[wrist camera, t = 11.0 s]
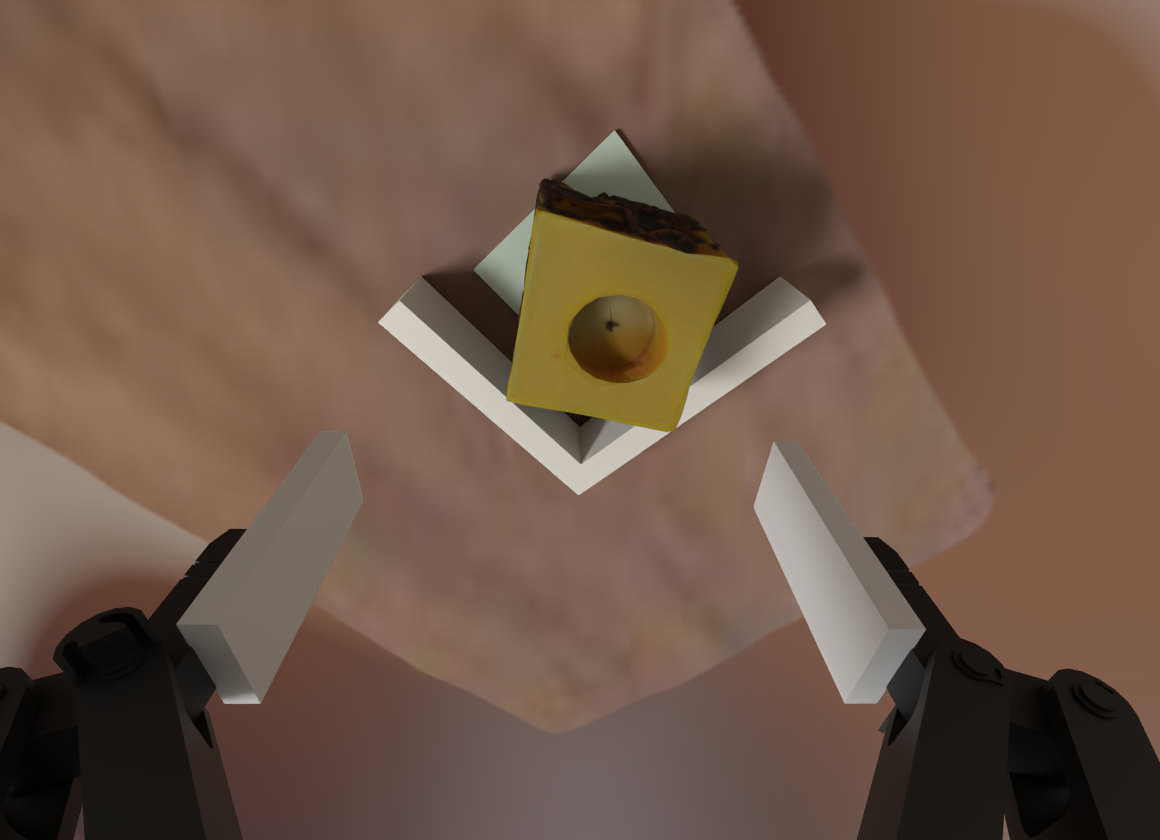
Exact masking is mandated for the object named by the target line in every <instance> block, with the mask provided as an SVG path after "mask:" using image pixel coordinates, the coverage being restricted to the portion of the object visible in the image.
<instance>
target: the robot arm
mask: <svg viewBox="0 0 1160 840" xmlns="http://www.w3.org/2000/svg"><path fill="white" fill-rule="evenodd" d="M363 501H364V500H363V496H362V492H361V488H360V484H359V480H358V476H357V471H356V467H355V463H354V459H353V455H352V451H351V447H350V443H349V439H348V435H347V431H320V432H319V433H318V435H317V436H316V437H315V439H314V440H313V441H312V443H311V444H310V446H309V447H308V448H307V450H306V451H305V452H304V454H303V455H302V456H301V458H300V459H299V460H298V462H297V463H296V464H295V466H294V467H293V468H292V470H291V471H290V472H289V474H288V475H287V476H286V478H285V479H284V480H283V482H282V483H281V484H280V486H279V487H278V488H277V490H276V491H275V492H274V494H273V495H272V496H271V498H270V499H269V500H268V502H267V503H266V505H265V506H264V507H263V509H262V510H261V511H260V513H259V514H258V515H257V517H256V518H255V519H254V521H253V522H252V523H251V525H250V526H249V527H248V529H229V530H228V531H226V532H225V533H224V534H222V535H221V536H219V537H218V538H217V539H215V540H214V541H213V542H211V543H210V544H209V545H208V546H207V547H206V549H205V550H204V551H203V553H202V554H201V555H200V556H199V557H198V559H197V560H196V561H195V565H192V566H191V567H190V568H189V570H188V571H187V572H186V573H185V575H184V578H183V579H181V580H180V581H179V582H178V583H177V585H176V586H175V587H174V588H173V590H172V591H171V592H170V593H169V594H168V596H167V597H166V598H165V600H164V601H163V602H162V603H161V604H160V606H159V607H158V608H157V609H156V611H155V612H154V613H153V614H152V616H151V617H150V618H149V619H148V620H147V618H146V617H145V615H144V614H143V612H142V611H141V610H138V609H135V608H132V607H125V608H115V609H112V610H109V611H106V612H102V613H100V614H97V615H95V616H93V617H91V618H90V619H88V620H86V621H84V622H82V623H81V624H79V625H78V626H77V627H75V628H74V629H73V630H72V631H70V632H69V633H68V634H67V635H66V636H65V637H64V638H63V639H62V641H61V642H60V643H59V644H58V646H57V647H56V649H55V653H54V656H53V660H54V661H55V662H56V664H57V665H58V666H59V667H60V668H61V669H62V671H63V672H62V673H58V674H55V675H51V676H47V677H43V678H39V679H35V680H32V679H31V678H30V677H29V676H28V675H27V674H26V673H25V672H24V671H23V670H22V669H21V668H14V667H5V668H0V840H73V839H74V835H75V831H76V827H77V823H78V818H79V814H80V811H81V807H82V803H83V816H84V833H85V840H243V838H242V834H241V830H240V827H239V823H238V819H237V815H236V812H235V808H234V804H233V801H232V797H231V793H230V789H229V785H228V782H227V778H226V774H225V771H224V767H223V763H222V759H221V755H220V752H219V748H218V744H217V741H216V737H215V733H214V729H213V725H212V722H211V718H210V714H209V712H208V711H207V709H206V708H205V706H206V704H207V702H208V701H209V699H210V697H211V696H212V694H213V692H214V690H215V689H216V690H217V692H218V693H219V695H220V697H221V698H222V700H223V702H224V703H225V704H260V703H261V702H262V700H263V698H264V696H265V694H266V692H267V690H268V688H269V686H270V684H271V682H272V680H273V678H274V676H275V674H276V672H277V670H278V668H279V666H280V664H281V662H282V660H283V658H284V656H285V654H286V652H287V651H288V648H289V646H290V645H291V643H292V641H293V639H294V637H295V635H296V633H297V631H298V629H299V627H300V625H301V623H302V620H303V619H304V617H305V615H306V613H307V611H308V609H309V607H310V605H311V603H312V601H313V599H314V597H315V595H316V593H317V591H318V589H319V587H320V585H321V584H322V582H323V580H324V578H325V576H326V574H327V572H328V570H329V568H330V566H331V564H332V562H333V560H334V558H335V556H336V554H337V552H338V550H339V548H340V546H341V544H342V542H343V540H344V538H345V536H346V534H347V532H348V530H349V528H350V526H351V524H352V522H353V520H354V518H355V516H356V514H357V512H358V511H359V509H360V507H361V505H362V503H363ZM754 509H755V512H756V514H757V516H758V518H759V520H760V522H761V524H762V527H763V529H764V531H765V533H766V535H767V537H768V540H769V542H770V544H771V546H772V548H773V550H774V552H775V555H776V557H777V559H778V561H779V563H780V565H781V568H782V570H783V572H784V574H785V576H786V578H787V580H788V583H789V585H790V587H791V589H792V591H793V593H794V596H795V598H796V600H797V602H798V604H799V606H800V608H801V611H802V613H803V615H804V617H805V619H806V621H807V623H808V625H809V628H810V630H811V632H812V634H813V636H814V639H815V641H816V643H817V645H818V647H819V649H820V651H821V653H822V656H823V658H824V660H825V662H826V664H827V667H828V669H829V671H830V673H831V675H832V677H833V679H834V682H835V684H836V686H837V688H838V690H839V692H840V694H841V697H842V699H843V701H844V703H877V702H878V701H879V699H880V698H881V696H882V695H883V693H884V692H885V690H886V689H888V691H889V693H890V695H891V697H892V698H893V700H894V702H895V704H896V705H895V707H894V708H893V710H892V711H891V713H890V714H889V715H888V717H887V718H886V720H885V721H884V722H883V724H882V725H881V727H880V729H879V731H880V732H882V733H884V732H885V731H886V732H885V736H884V739H883V743H882V747H881V751H880V754H879V758H878V762H877V766H876V770H875V773H874V777H873V781H872V785H871V789H870V792H869V796H868V799H867V803H866V807H865V811H864V814H863V818H862V822H861V826H860V829H859V834H858V837H857V840H1002V839H1003V838H1002V837H1003V823H1004V814H1005V819H1006V823H1007V828H1008V832H1009V837H1010V840H1160V762H1159V760H1158V758H1157V756H1156V754H1155V751H1154V749H1153V747H1152V745H1151V743H1150V741H1149V739H1148V737H1147V734H1146V732H1145V731H1144V728H1143V726H1142V724H1141V722H1140V720H1139V718H1138V716H1137V714H1136V713H1135V711H1134V710H1133V708H1132V707H1131V705H1130V704H1129V703H1128V702H1127V701H1126V700H1125V699H1124V698H1123V697H1122V696H1121V695H1120V694H1119V693H1118V692H1117V691H1116V690H1115V689H1113V688H1112V687H1110V686H1109V685H1107V684H1106V683H1104V682H1103V681H1101V680H1099V679H1098V678H1096V677H1093V676H1091V675H1089V674H1087V673H1085V672H1082V671H1077V670H1073V669H1062V670H1058V671H1057V672H1056V673H1055V674H1054V675H1053V676H1052V677H1051V678H1050V679H1049V680H1048V681H1047V680H1044V679H1040V678H1036V677H1033V676H1030V675H1026V674H1022V673H1019V672H1015V671H1012V670H1008V669H1006V668H1004V667H1003V665H1002V664H1001V663H1000V662H999V661H998V660H997V659H996V658H995V657H994V656H993V655H992V654H991V653H990V652H988V651H986V650H985V649H983V648H982V647H980V646H979V645H976V644H975V643H972V642H969V641H967V640H964V639H961V638H960V637H959V636H958V635H957V633H956V632H955V631H954V629H953V628H952V627H951V625H950V624H949V623H948V621H947V620H946V619H945V617H944V616H943V614H942V613H941V612H940V610H939V609H938V608H937V606H936V605H935V604H934V602H933V601H932V600H931V598H930V597H929V595H928V594H927V593H926V591H925V590H924V589H923V587H922V586H919V582H918V580H917V579H916V578H915V576H914V575H913V574H912V572H909V568H908V567H907V565H906V564H905V563H904V561H903V560H902V559H901V557H900V556H899V555H898V553H897V552H896V551H895V550H893V549H892V548H891V547H890V546H888V545H887V544H886V543H885V542H883V541H882V540H881V539H880V538H879V537H863V536H862V535H861V534H860V532H859V531H858V529H857V528H856V526H855V525H854V523H853V522H852V520H851V519H850V517H849V516H848V515H847V513H846V512H845V510H844V509H843V507H842V506H841V504H840V503H839V501H838V500H837V498H836V497H835V496H834V494H833V493H832V491H831V490H830V488H829V487H828V485H827V484H826V482H825V481H824V479H823V478H822V477H821V475H820V474H819V472H818V471H817V469H816V468H815V466H814V465H813V463H812V462H811V460H810V459H809V458H808V456H807V455H806V453H805V452H804V450H803V449H802V447H801V446H800V444H799V443H798V442H786V441H774V442H773V445H772V449H771V452H770V455H769V458H768V462H767V465H766V468H765V471H764V475H763V478H762V481H761V485H760V488H759V491H758V494H757V498H756V501H755V504H754Z"/></svg>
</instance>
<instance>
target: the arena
mask: <svg viewBox="0 0 1160 840" xmlns="http://www.w3.org/2000/svg"><path fill="white" fill-rule="evenodd" d="M378 323H379V324H381V325H382V326H383V327H384V328H385V329H386V330H388V331H389V332H390V333H391V334H392V335H393V336H394V337H396V338H397V339H398V340H399V341H400V342H401V343H403V344H404V345H405V346H406V347H407V348H408V349H410V350H411V351H412V352H413V353H414V354H415V355H417V356H418V357H419V358H420V359H421V360H422V361H423V362H425V363H426V364H427V365H428V366H429V367H430V368H432V369H433V370H434V371H435V372H436V373H437V374H439V375H440V376H441V377H442V378H443V379H444V380H446V381H447V382H448V383H449V384H450V385H451V386H452V387H454V388H455V389H456V390H457V391H458V392H459V393H461V394H462V395H463V396H464V397H465V398H466V399H468V400H469V401H470V402H471V403H472V404H473V405H474V406H476V407H477V408H478V409H479V410H480V411H481V412H483V413H484V414H485V415H486V416H487V417H488V418H490V419H491V420H492V421H493V422H494V423H495V424H497V425H498V426H499V427H500V428H501V429H502V430H503V431H505V432H506V433H507V434H508V435H509V436H510V437H512V438H513V439H514V440H515V441H516V442H517V443H519V444H520V445H521V446H522V447H523V448H524V449H526V450H527V451H528V452H529V453H530V454H531V455H532V456H534V457H535V458H536V459H537V460H538V461H539V462H541V463H542V464H543V465H544V466H545V467H546V468H548V469H549V470H550V471H551V472H552V473H553V474H555V475H556V476H557V477H558V478H559V479H560V480H561V481H563V482H564V483H565V484H566V485H567V486H568V487H570V488H571V489H572V490H573V491H574V492H575V493H577V494H578V495H580V494H581V493H583V492H584V491H586V490H587V489H588V488H590V487H591V486H593V485H594V484H596V483H597V482H599V481H600V480H601V479H603V478H604V477H606V476H607V475H609V474H610V473H612V472H613V471H615V470H616V469H617V468H619V467H620V466H622V465H623V464H625V463H626V462H628V461H629V460H630V459H632V458H633V457H635V456H636V455H638V454H639V453H641V452H642V451H643V450H645V449H646V448H648V447H649V446H651V445H652V444H654V443H655V442H657V441H658V440H659V439H661V438H662V437H664V436H665V435H667V434H668V433H670V432H671V431H670V432H663V431H658V430H653V429H649V428H644V427H639V426H634V425H627V424H623V423H619V422H615V421H611V420H606V419H601V418H597V417H592V418H591V419H590V420H588V421H587V422H586V423H584V424H583V425H582V426H579V425H578V424H576V423H575V422H574V421H573V420H572V419H571V418H570V417H569V416H568V415H567V414H566V413H565V412H563V411H557V410H550V409H544V408H539V407H533V406H527V405H522V404H518V403H514V402H509V401H506V397H507V387H508V381H509V377H510V373H511V369H512V363H511V361H510V360H509V359H508V358H507V357H506V356H505V355H504V354H503V353H502V352H501V351H499V350H498V349H497V348H496V347H495V346H494V345H493V344H492V343H491V342H490V341H489V340H488V339H487V338H486V337H485V336H484V335H483V334H482V333H480V332H479V331H478V330H477V329H476V328H475V327H474V326H473V325H472V324H471V323H470V322H469V321H468V320H467V319H466V318H465V317H464V316H463V315H461V314H460V313H459V312H458V311H457V310H456V309H455V308H454V307H453V306H452V305H451V304H450V303H449V302H448V301H447V300H446V299H445V298H444V297H442V296H441V295H440V294H439V293H438V292H437V291H436V290H435V289H434V288H433V287H432V286H431V285H430V284H429V283H428V282H427V281H426V280H425V279H423V278H422V277H420V278H419V279H418V280H417V281H416V282H415V283H414V284H413V285H412V286H411V287H410V288H409V289H408V290H407V291H406V292H405V293H404V294H403V295H402V296H401V298H400V299H399V300H398V301H397V302H396V303H395V304H394V305H393V306H392V308H391V309H390V310H389V311H388V312H387V313H386V314H385V315H384V316H383V318H382V319H381V320H380V321H379V322H378ZM824 325H826V323H825V321H824V320H823V318H822V317H821V315H820V314H819V312H818V311H817V309H816V308H815V306H814V305H813V303H812V302H811V300H810V299H809V298H807V297H806V296H805V295H804V294H802V293H801V292H800V291H798V290H797V289H796V288H795V287H793V286H792V285H791V284H790V283H788V282H787V281H786V280H785V279H783V278H782V277H781V276H780V277H778V278H777V279H776V280H774V281H773V282H772V283H771V284H769V285H768V286H767V287H765V288H764V289H763V290H761V291H760V292H759V293H757V294H756V295H755V296H753V297H752V298H751V299H749V300H748V301H747V302H745V303H744V304H743V305H741V306H740V307H739V308H737V309H736V310H735V311H733V312H732V313H731V314H729V315H728V316H727V317H725V318H724V319H723V320H721V321H720V322H719V323H717V324H716V325H715V326H713V328H712V331H711V334H710V336H709V339H708V341H707V344H706V346H705V349H704V351H703V353H702V356H701V358H700V361H699V363H698V365H697V368H696V371H695V374H694V376H693V379H692V382H691V384H690V387H689V391H688V395H687V399H686V403H685V406H684V409H683V412H682V416H681V418H680V420H679V423H678V425H677V427H678V426H680V425H681V424H683V423H684V422H685V421H687V420H688V419H690V418H691V417H693V416H694V415H696V414H697V413H699V412H700V411H701V410H703V409H704V408H706V407H707V406H709V405H710V404H712V403H713V402H714V401H716V400H717V399H719V398H720V397H722V396H723V395H725V394H726V393H727V392H729V391H730V390H732V389H733V388H735V387H736V386H738V385H739V384H740V383H742V382H743V381H745V380H746V379H748V378H749V377H751V376H752V375H754V374H755V373H756V372H758V371H759V370H761V369H762V368H764V367H765V366H767V365H768V364H769V363H771V362H772V361H774V360H775V359H777V358H778V357H780V356H781V355H782V354H784V353H785V352H787V351H788V350H790V349H791V348H793V347H794V346H796V345H797V344H798V343H800V342H801V341H803V340H804V339H806V338H807V337H809V336H810V335H811V334H813V333H814V332H816V331H817V330H819V329H820V328H822V327H823V326H824ZM677 427H676V428H677Z"/></svg>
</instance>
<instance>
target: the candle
mask: <svg viewBox="0 0 1160 840" xmlns="http://www.w3.org/2000/svg"><path fill="white" fill-rule="evenodd" d="M539 186H540V189H539V191H538V195H537V199H536V207H535V212H534V221H533V227H532V233H531V238H530V243H529V247H528V250H529V251H528V257H527V261H526V267H525V277H524V291H523V293H522V301H521V306H520V310H519V315H518V320H517V321H518V328H517V334H516V337H515V340H514V350H513V358H512V362H511V363H512V369H511V373H510V377H509V381H508V387H507V397H506V401H509V402H514V403H518V404H522V405H527V406H533V407H539V408H544V409H550V410H557V411H563V412H570V413H575V414H581V415H586V416H592V417H597V418H601V419H606V420H611V421H615V422H619V423H623V424H627V425H634V426H639V427H644V428H649V429H653V430H658V431H663V432H670V431H673V430H675V429H676V427H677V425H678V423H679V420H680V418H681V416H682V412H683V409H684V406H685V403H686V399H687V395H688V391H689V387H690V384H691V382H692V379H693V376H694V374H695V371H696V368H697V365H698V363H699V361H700V358H701V356H702V353H703V351H704V349H705V346H706V344H707V341H708V339H709V336H710V334H711V331H712V328H713V326H714V323H715V321H716V319H717V317H718V315H719V313H720V310H721V308H722V306H723V304H724V302H725V299H726V297H727V295H728V292H729V290H730V288H731V285H732V283H733V281H734V278H735V275H736V272H737V270H738V263H739V262H737V261H735V260H734V259H732V258H731V257H729V256H728V255H727V254H726V253H724V252H723V251H722V249H721V248H720V247H721V246H720V245H719V244H716V243H715V242H714V241H712V240H711V239H710V237H709V235H708V233H707V230H706V229H705V228H703V227H701V226H700V225H699V221H697V220H695V219H693V218H691V217H689V216H686V215H681V214H676V213H673V212H670V211H666V210H663V209H659V208H658V207H656V206H650V205H648V204H646V203H641V202H636V201H630V200H628V199H626V198H623V197H618V196H615V195H612V196H610V197H609V196H608V194H607V193H605V192H603V193H600V194H599V195H598V196H597V197H590V196H588V195H585V194H583V193H581V192H579V191H576V190H574V189H573V188H571V187H570V186H568V185H567V184H565V183H559V182H557V181H555V180H549V179H548V178H547V179H545V178H544V179H543V180H542V181H541V183H540V184H539Z"/></svg>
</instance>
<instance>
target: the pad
mask: <svg viewBox="0 0 1160 840" xmlns="http://www.w3.org/2000/svg"><path fill="white" fill-rule="evenodd" d="M561 183H565V184H567V185H568V186H570V187H571V188H573V189H574V190H576V191H579V192H581V193H583V194H585V195H588V196H590V197H597V196H598V195H599V194H600V193H603V192H605V193H607V194H608V196H609V197H610V196H612V195H615V196H618V197H623V198H626V199H628V200H630V201H636V202H641V203H646V204H648V205H650V206H656V207H658V208H659V209H663V210H666V211H670V212H673V213H675V212H674V211H673V209H672V208H671V207H670V205H669V204H668V202H667V201H666V200H665V198H664V197H663V196H662V194H661V193H660V192H659V190H658V189H657V187H656V186H655V185H654V183H653V182H652V181H651V179H650V178H649V176H648V175H647V174H646V172H645V171H644V170H643V168H642V167H641V166H640V164H639V163H638V161H637V160H636V159H635V157H634V156H633V155H632V153H631V152H630V150H629V149H628V148H627V146H626V145H625V144H624V142H623V141H622V140H621V138H620V137H619V135H618V134H617V133H616V131H615V130H614V131H613V132H612V133H611V134H610V135H609V136H608V137H607V138H606V139H605V140H604V141H603V142H602V143H601V144H600V145H599V146H598V147H597V148H596V149H595V150H594V151H593V152H592V153H591V154H590V155H589V156H588V157H587V158H586V159H585V160H584V161H583V162H582V163H581V164H580V165H579V166H578V167H577V168H576V169H574V170H573V171H572V172H571V173H570V174H569V175H568V176H567V177H566V178H565V179H564V180H563V181H562V182H561ZM534 212H535V209H534V210H533V211H532V212H531V213H530V214H529V215H528V216H527V217H526V218H525V219H524V220H523V221H522V222H521V223H520V224H519V225H518V226H517V227H516V228H515V229H514V230H513V231H512V232H511V233H510V234H509V235H508V236H507V237H506V238H505V239H504V240H503V241H502V242H501V243H500V244H499V245H497V246H496V247H495V248H494V249H493V250H492V251H491V252H490V253H489V254H488V255H487V256H486V257H485V258H484V259H483V260H482V261H481V262H480V263H479V264H478V265H477V266H476V267H475V268H474V271H475V272H476V273H477V274H478V275H479V276H480V277H481V278H482V279H483V280H484V281H485V282H486V283H487V284H488V285H489V286H490V287H491V288H492V289H493V290H494V291H495V292H496V293H497V294H498V295H499V296H500V297H501V298H502V299H503V300H504V301H505V302H506V303H507V304H508V305H509V306H510V307H511V308H512V309H513V310H514V311H515V312H516V313H517V314H518V315H519V310H520V306H521V301H522V293H523V291H524V277H525V267H526V261H527V257H528V251H529V250H528V247H529V243H530V238H531V233H532V227H533V221H534Z"/></svg>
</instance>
